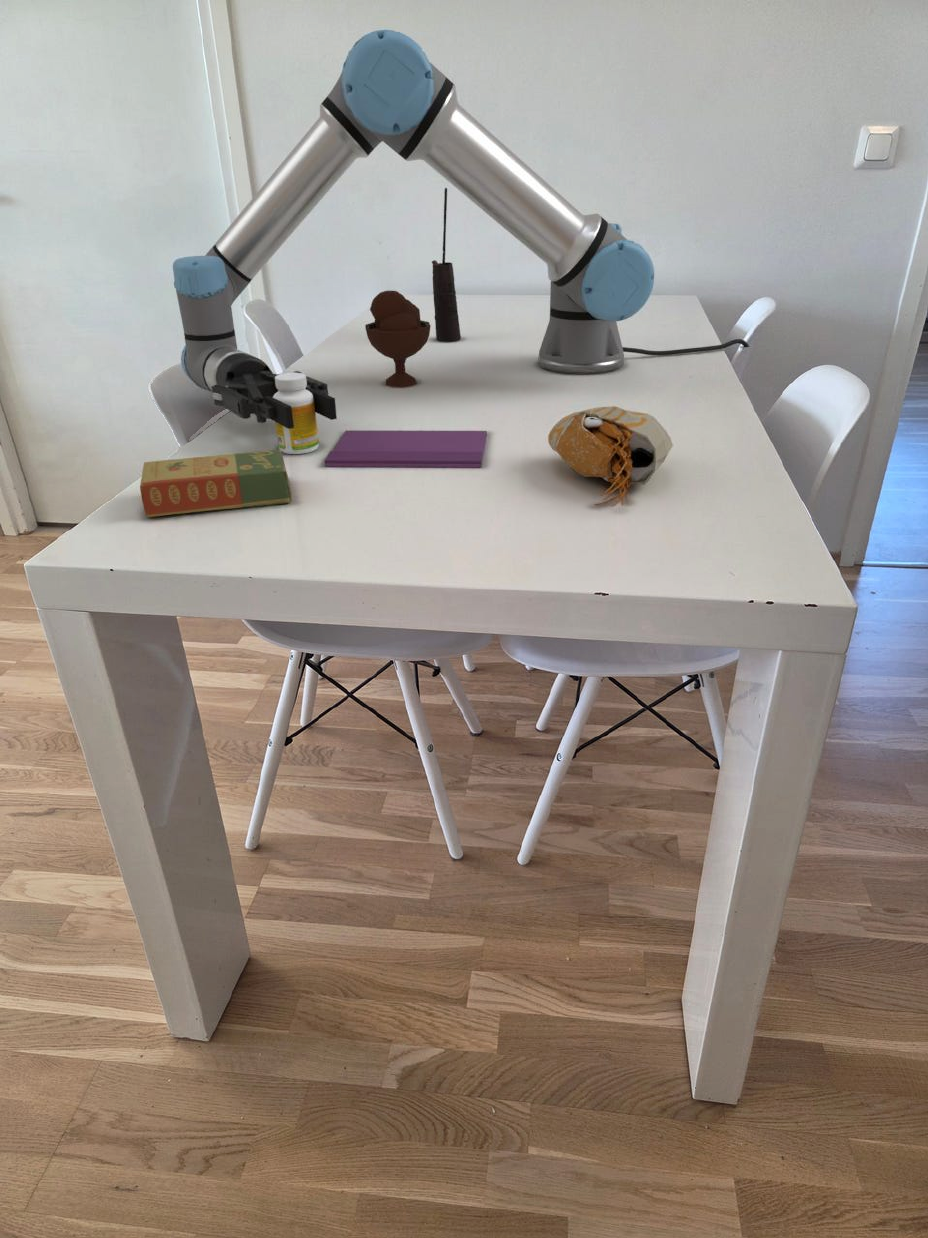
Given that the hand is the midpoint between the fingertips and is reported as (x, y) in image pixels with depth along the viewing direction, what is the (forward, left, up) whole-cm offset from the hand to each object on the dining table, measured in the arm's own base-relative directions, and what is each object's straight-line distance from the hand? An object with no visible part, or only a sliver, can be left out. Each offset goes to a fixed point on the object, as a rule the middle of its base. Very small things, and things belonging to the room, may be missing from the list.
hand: (311, 413), depth 107 cm
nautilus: (-37, +8, -6) cm, 38 cm away
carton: (+8, +14, -6) cm, 18 cm away
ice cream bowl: (-6, -39, -6) cm, 40 cm away
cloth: (-12, -4, -6) cm, 14 cm away
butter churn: (-10, -75, -6) cm, 76 cm away
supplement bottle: (+3, -4, -6) cm, 8 cm away
